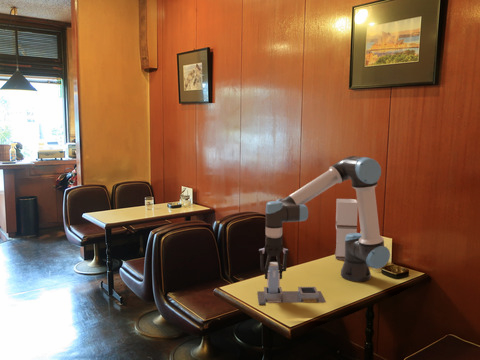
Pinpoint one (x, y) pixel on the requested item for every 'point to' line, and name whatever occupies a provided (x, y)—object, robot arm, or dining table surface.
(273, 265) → the plug
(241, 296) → the dining table surface
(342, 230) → the white rectangular tower
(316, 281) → the dining table surface
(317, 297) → the panel
